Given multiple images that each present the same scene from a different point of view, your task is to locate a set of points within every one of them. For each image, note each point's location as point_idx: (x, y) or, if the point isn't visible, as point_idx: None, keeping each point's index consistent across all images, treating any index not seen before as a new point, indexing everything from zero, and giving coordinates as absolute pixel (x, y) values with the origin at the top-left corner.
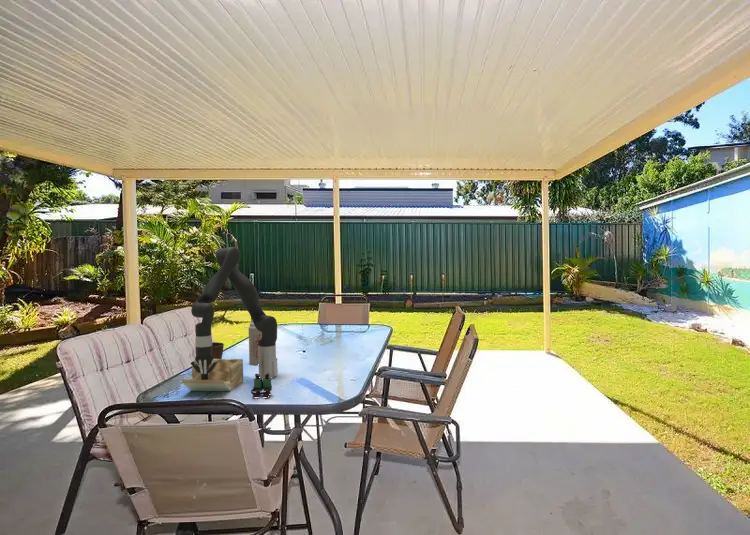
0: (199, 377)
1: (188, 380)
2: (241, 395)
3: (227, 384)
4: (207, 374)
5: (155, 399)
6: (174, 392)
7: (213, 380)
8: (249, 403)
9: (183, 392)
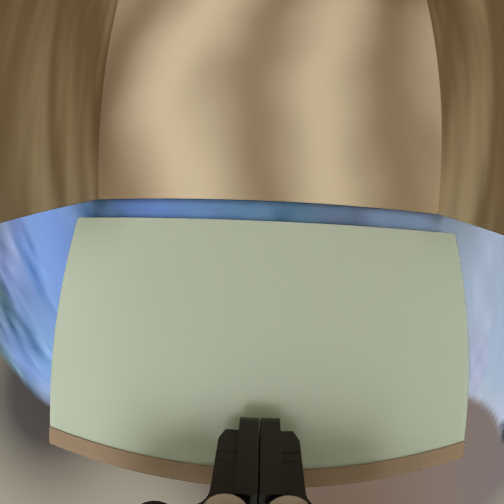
0: (57, 81)
1: (105, 460)
2: (495, 325)
3: (467, 351)
4: (296, 492)
5: (16, 372)
6: (10, 251)
7: (374, 476)
8: (499, 420)
9: (53, 252)
